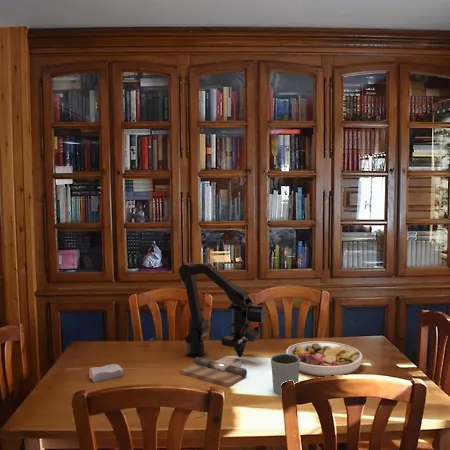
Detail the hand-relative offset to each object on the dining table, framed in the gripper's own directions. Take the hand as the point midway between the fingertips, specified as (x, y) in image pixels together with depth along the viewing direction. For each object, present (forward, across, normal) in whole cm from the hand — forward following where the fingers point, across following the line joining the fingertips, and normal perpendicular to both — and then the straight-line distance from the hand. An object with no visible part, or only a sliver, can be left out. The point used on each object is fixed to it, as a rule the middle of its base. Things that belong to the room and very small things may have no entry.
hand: (240, 357), depth 209 cm
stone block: (+2, -42, +34) cm, 54 cm away
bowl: (+2, +16, -30) cm, 34 cm away
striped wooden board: (+2, -19, 0) cm, 19 cm away
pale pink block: (+2, -10, 0) cm, 10 cm away
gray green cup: (+2, -16, -30) cm, 34 cm away
